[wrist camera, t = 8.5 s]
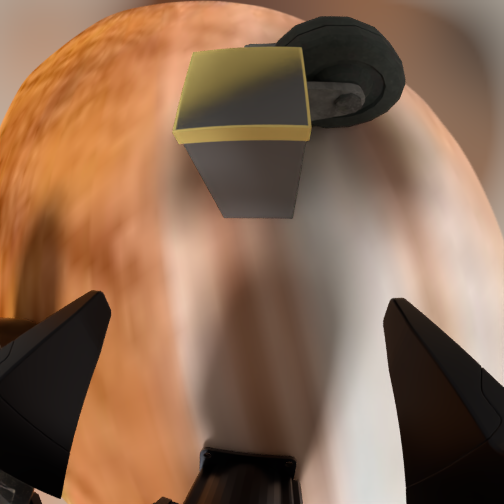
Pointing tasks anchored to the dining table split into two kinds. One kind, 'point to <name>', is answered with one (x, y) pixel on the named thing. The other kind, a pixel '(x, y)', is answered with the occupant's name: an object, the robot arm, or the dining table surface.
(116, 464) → the dining table surface
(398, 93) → the caster wheel
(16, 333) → the supplement bottle
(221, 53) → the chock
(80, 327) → the robot arm
